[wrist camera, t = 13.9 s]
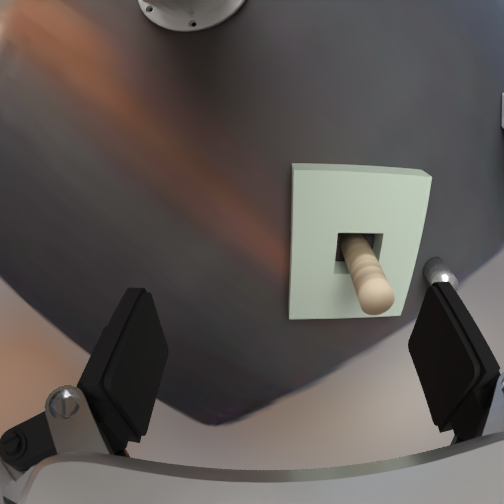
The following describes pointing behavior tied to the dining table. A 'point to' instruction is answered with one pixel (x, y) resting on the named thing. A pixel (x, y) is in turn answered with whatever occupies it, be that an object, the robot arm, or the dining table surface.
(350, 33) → the dining table surface
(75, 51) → the dining table surface
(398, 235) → the hole board
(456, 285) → the steel pin
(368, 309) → the birch pin
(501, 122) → the jar
